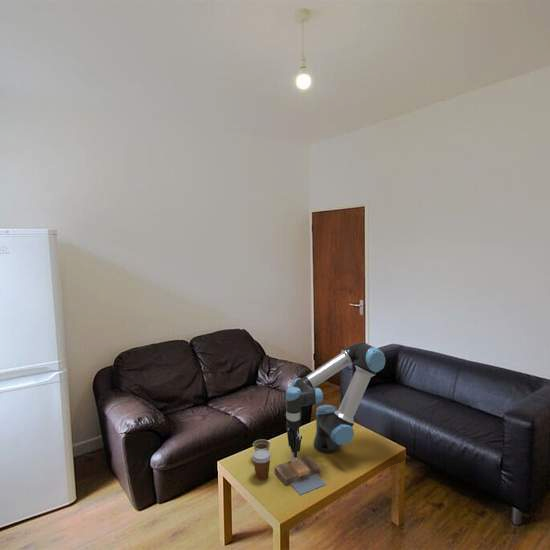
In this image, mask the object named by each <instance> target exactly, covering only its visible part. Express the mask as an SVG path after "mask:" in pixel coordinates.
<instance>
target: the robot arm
mask: <svg viewBox="0 0 550 550" xmlns="http://www.w3.org/2000/svg"><path fill="white" fill-rule="evenodd" d="M352 365H354V367H355V372H354V374H353V376H352V378H351V381H350V383H349V385H348V387H347V389H346V392H345V394H344V396H343V399H342V401H341V403H340V406H339V407H338V409H337V407H336V406H335V405H330V404H323V405H319V406H318V407H317V408H316V411H315V422H316V424H315V426H316V427H315V428H316V433H315V436H314V439H313V448H314V449H315V450H316V451H317V452H320V453H324V454H333V453H336V452H337V451H340V449H341V446H345V445H346V444H349V443H350V442H351V441H352V440H353V438H354V436H355V431H354V427H353V426H354V425H355V421H354V420H355V419H354V417H355V414H356V412H357V410H358V408H359V405H360V404H361V401H362V399H363V396H364V394H365V392H366V389H367V387H368V385H369V382H370V381H371V378H372V377H374V376H376V374H377V373H378V372H380V371H382V370H383V369H384V367H385V365H386V357H385V354H384V352H383V351H381V350H380V349H379V348H378V347H375V346H372V345H370V344H368V343H366V342H363V341H362V342H355V343H353V344H350V345H348V346H347V347H345V348H343V349H341V350H340V353H339V354H337V355H336V356H334V357H333V358H331V359H330V360H328V361H327V362H325V363H324V364H322V365H321V366H319V367H318V368H317V369H315V370H313V371H312V372H310V373H309V374H307V375H306V376H304V377H302V378H301V377H297V378H295V379H294V380H293V381H292V385H291V386H290V387H288V388H287V389H286V391H285V409H286V410H285V417H286V419H285V420H286V423H285V424H286V426H285V429H286V433H287V435H286V436H287V441H288V448H289V447H290V453H291V454H290V455H291V456H290V459H291V460H290V461H291V462H295V461H297V458H298V452H300V451H301V445H302V444H301V443H302V439H303V435H300V428H301V427H302V419H301V418H302V407H306V406H312V405H317V404H321V403H322V402H324V401H323V400H324V393H323V391H322V389H321V388H319V387H318V386H319V385H320V384H321V383H324V382H325V381H326V380H328V379H330V378H331V377H332V376H334V375H335V374H337V373H338V372H341V370H343V369H345V368H346V367H348V366H352Z"/></svg>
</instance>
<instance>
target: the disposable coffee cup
mask: <svg viewBox="0 0 550 550" xmlns="http://www.w3.org/2000/svg"><path fill="white" fill-rule="evenodd" d="M251 458H252V461H253V465H254V466H253V467H254V473H255V478H256V480H259V481H266V480H267V479H268V478H269V474H270V473H269V472H270V463H271V458H272V454H271V451H268V450H266V449H259V450H256V451H255V450H254V452H253V453H252V456H251Z"/></svg>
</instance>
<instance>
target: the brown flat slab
mask: <svg viewBox="0 0 550 550" xmlns="http://www.w3.org/2000/svg"><path fill="white" fill-rule="evenodd" d="M298 460H301V461H302V462H303V463H304V464H305V465H306V466H307V467H308V468H309V473H308V474H306V475H303V476H300V477H299V476H298V475H297V474H296V473H295V472H294V471H293V470H292V468H291V467H290V463H292V462H291V460H289V461H286V462H283V463H281V464H278V465H275V466H274V469H273V470H274V473H275V474H276V476H277V477H278V478H279V479H280V480H281V481H282V482H281V483H283V484H284V486H289V485H291V484H290V483H293V482H296V481H298V480H301V479H303V478H306V477H309V476H311V475H314V474H317V475H319V474H321V467H320V466H319V465H318V463H316V462H315V461H314V460H313V459H312V458H311V457H310V456H309V455H308V454H306V455H304V456H303V455H302V456H301V457H297V461H298Z"/></svg>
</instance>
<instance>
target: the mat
mask: <svg viewBox="0 0 550 550" xmlns="http://www.w3.org/2000/svg"><path fill="white" fill-rule="evenodd" d="M289 485H290V486H291V487H292V488H293V490H295V492H296V493H297V494H298V495H299V496H302V495H305V494H307V493H309V492H312V491H314V490H317V489H319V488H321V487H325V486H327V483H326V482H325V481H324V480H323V479H322V478H321V477H320V476H319V474H314V475H311V476H309V477H306V478H303V479H301V480H298V481H296V482H293V483H290V484H289Z"/></svg>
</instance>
